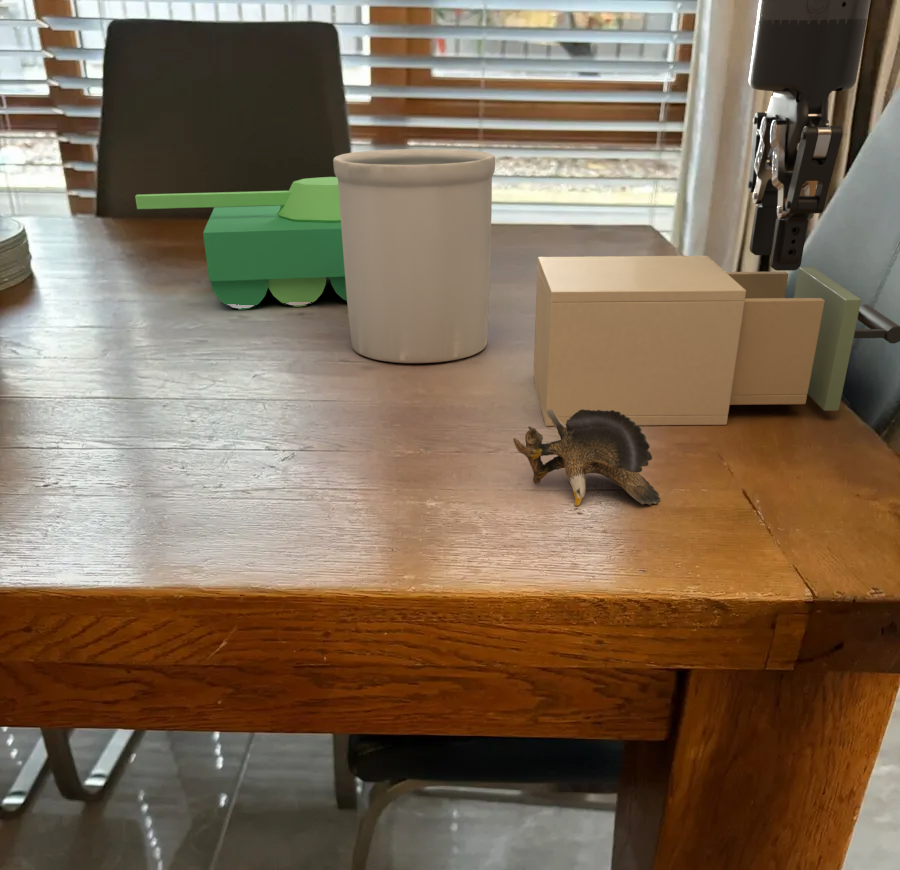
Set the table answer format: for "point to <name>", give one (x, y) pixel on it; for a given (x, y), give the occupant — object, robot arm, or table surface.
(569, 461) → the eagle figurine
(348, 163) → the utensil holder
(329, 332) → the table surface
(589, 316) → the cabinet
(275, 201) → the toy tank
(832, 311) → the drawer
